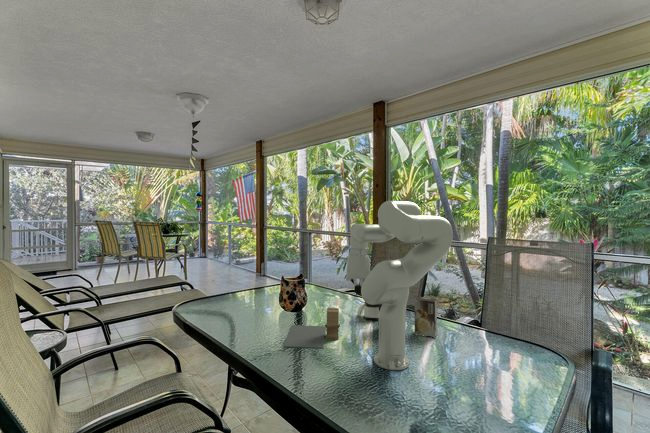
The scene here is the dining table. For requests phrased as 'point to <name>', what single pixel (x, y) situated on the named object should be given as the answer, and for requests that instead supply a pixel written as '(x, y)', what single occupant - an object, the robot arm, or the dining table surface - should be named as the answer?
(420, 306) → the coffee box
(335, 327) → the block
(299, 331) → the mat
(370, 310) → the spread jar
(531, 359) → the dining table surface
